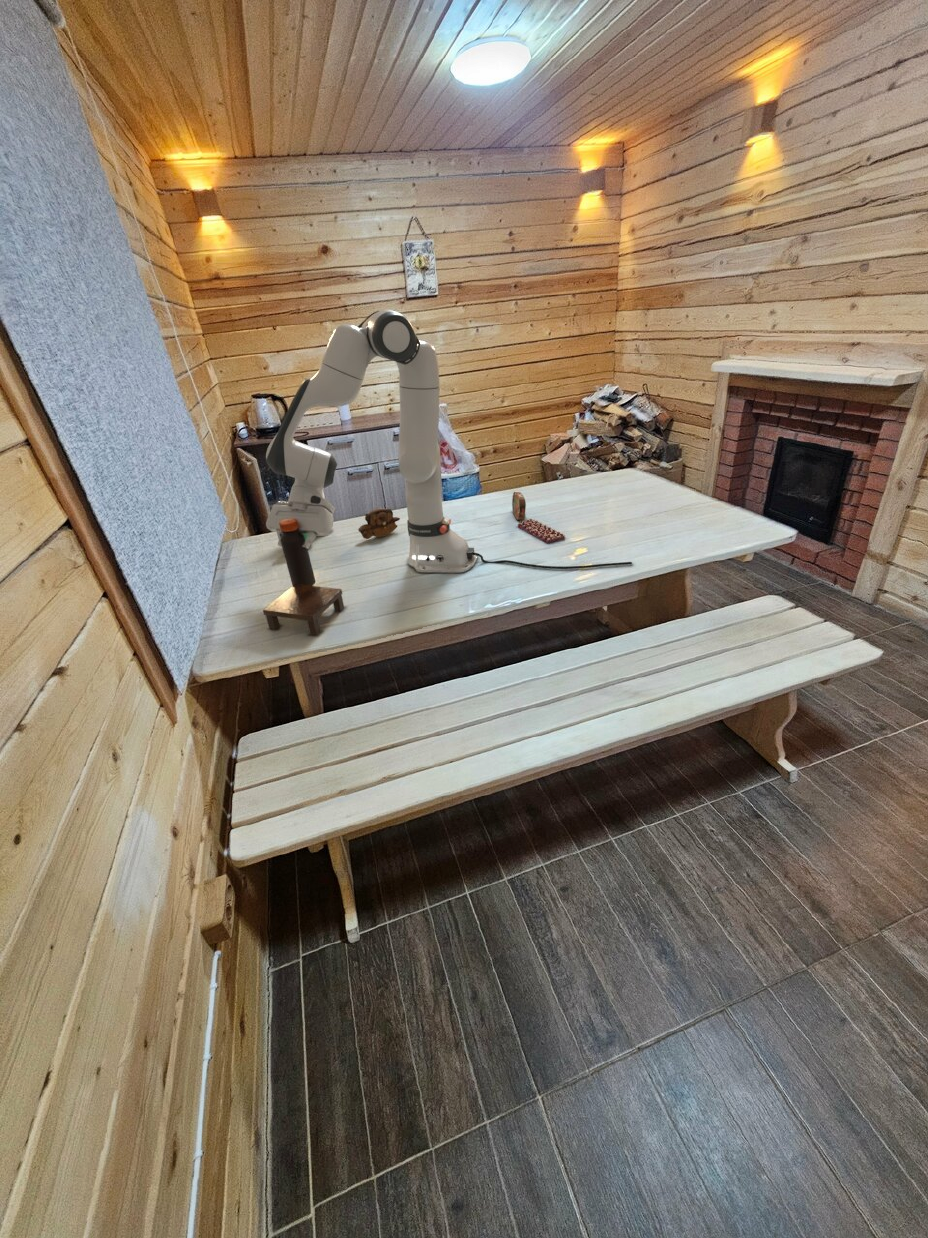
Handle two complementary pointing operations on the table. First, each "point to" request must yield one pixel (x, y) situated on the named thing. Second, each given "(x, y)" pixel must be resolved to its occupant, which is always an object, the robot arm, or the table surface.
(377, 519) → the wooden carving
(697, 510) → the table surface
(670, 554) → the table surface
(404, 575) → the table surface
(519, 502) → the tin
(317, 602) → the stand
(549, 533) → the chocolate bar
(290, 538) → the vinegar
